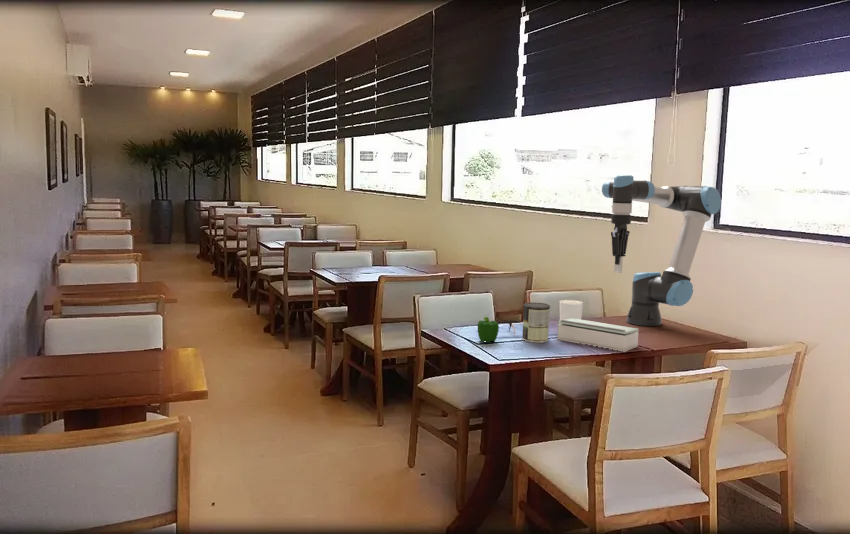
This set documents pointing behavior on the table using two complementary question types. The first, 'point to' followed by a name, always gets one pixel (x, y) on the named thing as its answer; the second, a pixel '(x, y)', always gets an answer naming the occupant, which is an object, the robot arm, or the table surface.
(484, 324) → the bell pepper
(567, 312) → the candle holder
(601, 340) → the duct channel
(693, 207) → the robot arm
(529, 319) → the coffee can
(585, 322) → the pale green rectangular panel
